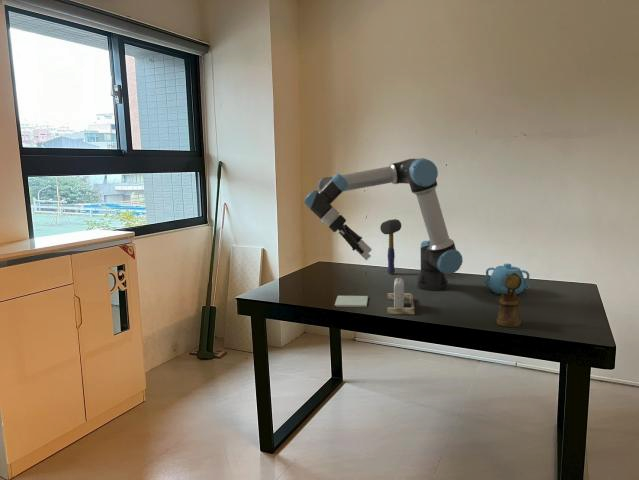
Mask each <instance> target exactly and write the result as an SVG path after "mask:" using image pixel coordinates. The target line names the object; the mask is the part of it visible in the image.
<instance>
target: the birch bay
mask: <svg viewBox="0 0 639 480" xmlns="http://www.w3.org/2000/svg"><path fill="white" fill-rule="evenodd" d="M386 295H387V297H386V299H387V300H394V292H391V293H390V292H388V293H387V294H386ZM404 300H409V304H410V307H403V308H394V307H386V308H387V311H386V312H387V315H415V303H414V298H413V293H409V292H408V293H405V292H404Z"/></svg>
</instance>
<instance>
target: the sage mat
mask: <svg viewBox="0 0 639 480" xmlns="http://www.w3.org/2000/svg"><path fill="white" fill-rule="evenodd" d="M368 300H369V296H368V295H337V297H336V300H335V303H334V307H335V306H336V307H337V308H340V307H341V308H344V307H345V308H352V307H353V308H367V307H368Z"/></svg>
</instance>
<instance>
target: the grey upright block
mask: <svg viewBox="0 0 639 480" xmlns="http://www.w3.org/2000/svg"><path fill="white" fill-rule="evenodd" d="M393 293H394V299H393V308H405V299H404V293H405V280H404V279H403V278H402V277H396V278H395V279H394V283H393Z"/></svg>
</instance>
